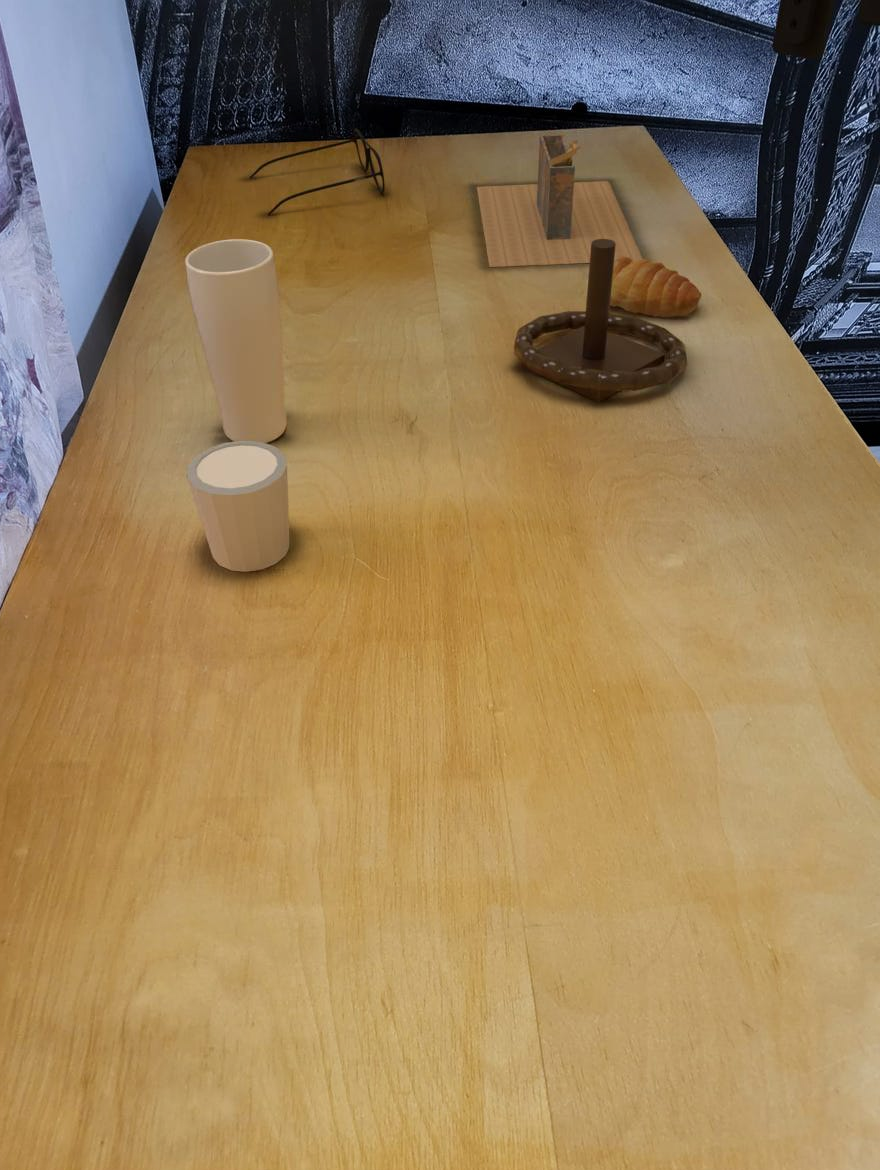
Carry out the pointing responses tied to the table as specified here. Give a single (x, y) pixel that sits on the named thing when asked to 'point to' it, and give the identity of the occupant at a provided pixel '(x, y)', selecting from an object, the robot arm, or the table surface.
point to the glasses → (368, 161)
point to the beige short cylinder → (242, 503)
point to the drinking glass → (240, 334)
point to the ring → (595, 377)
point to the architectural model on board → (552, 215)
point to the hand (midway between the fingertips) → (840, 39)
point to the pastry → (651, 289)
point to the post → (599, 331)
